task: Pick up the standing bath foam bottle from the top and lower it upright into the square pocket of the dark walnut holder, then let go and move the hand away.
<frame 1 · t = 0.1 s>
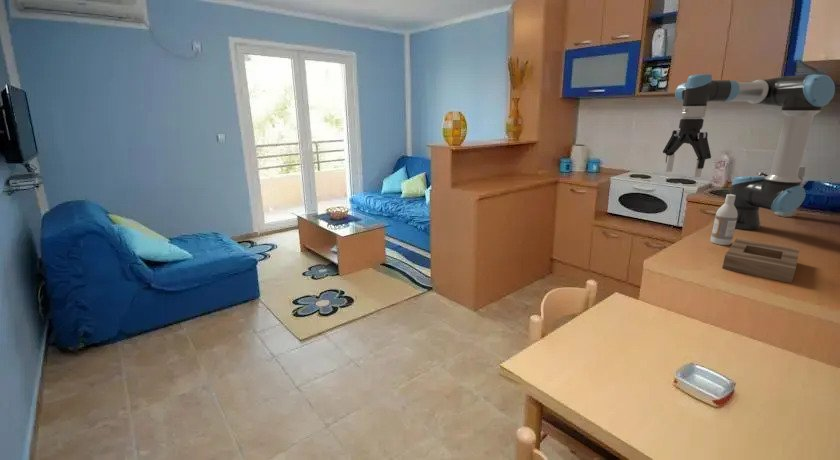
hand: (681, 174, 158), 28 cm above the table, tool pointing down, fingers open, 13 cm apart
bath foam: (720, 243, 165), on the table
walnut holder: (759, 265, 141), on the table
water bottle: (781, 215, 204), on the table
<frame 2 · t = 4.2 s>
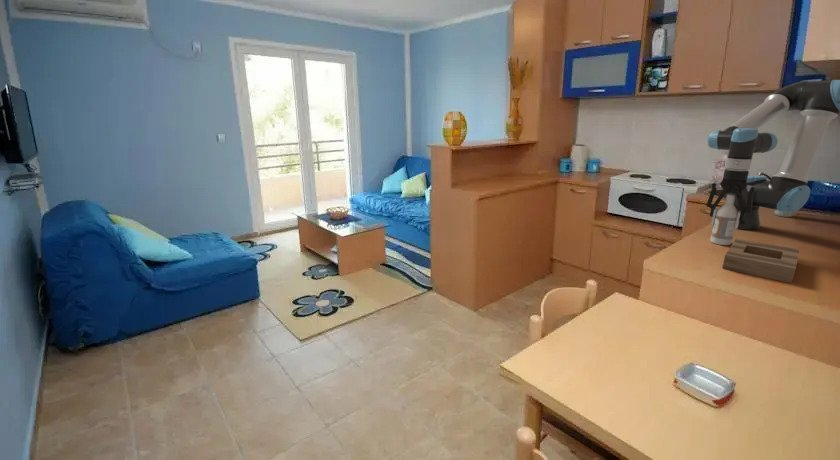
hand: (724, 226, 162), 7 cm above the table, tool pointing down, fingers closed on bath foam, 7 cm apart
bath foam: (720, 243, 165), on the table, touching gripper
everything else where it was.
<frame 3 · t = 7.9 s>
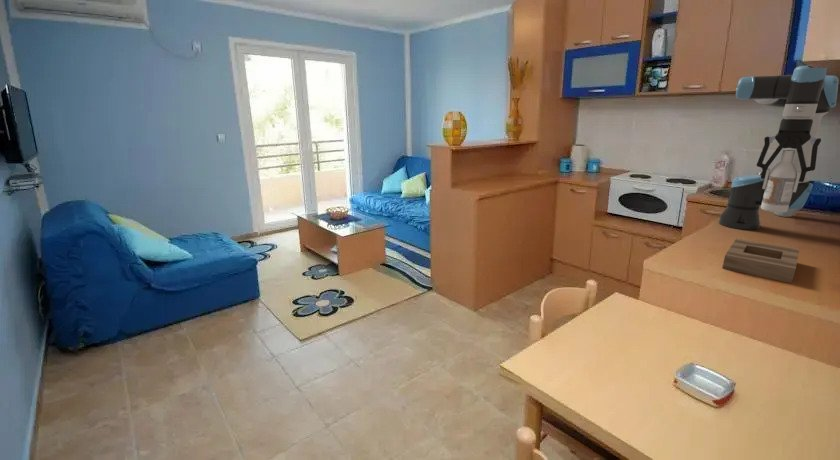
hand: (778, 189, 134), 27 cm above the table, tool pointing down, fingers closed on bath foam, 7 cm apart
bath foam: (773, 211, 136), point 20 cm above the table, touching gripper
everything else where it was.
when the fingers open (9 cm above the table, at t = 11.9 s): bath foam drops 1 cm, resting on walnut holder.
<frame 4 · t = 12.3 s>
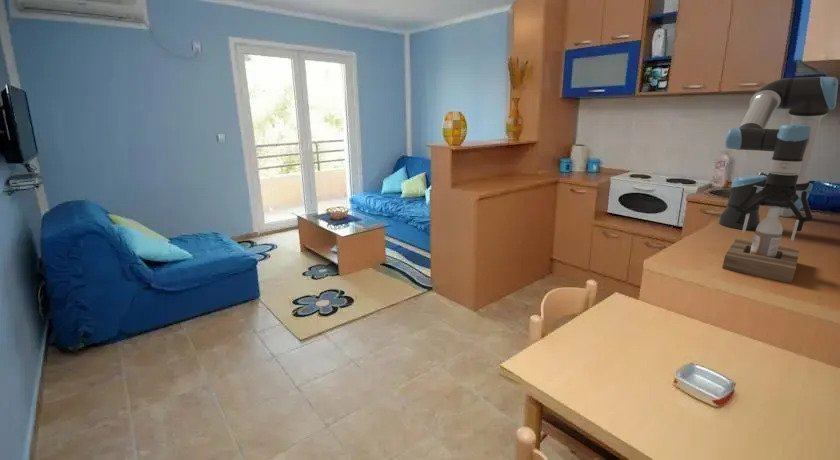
hand: (767, 235, 138), 11 cm above the table, tool pointing down, fingers open, 12 cm apart
bath foam: (760, 263, 141), point 1 cm above the table, touching walnut holder
everything else where it was.
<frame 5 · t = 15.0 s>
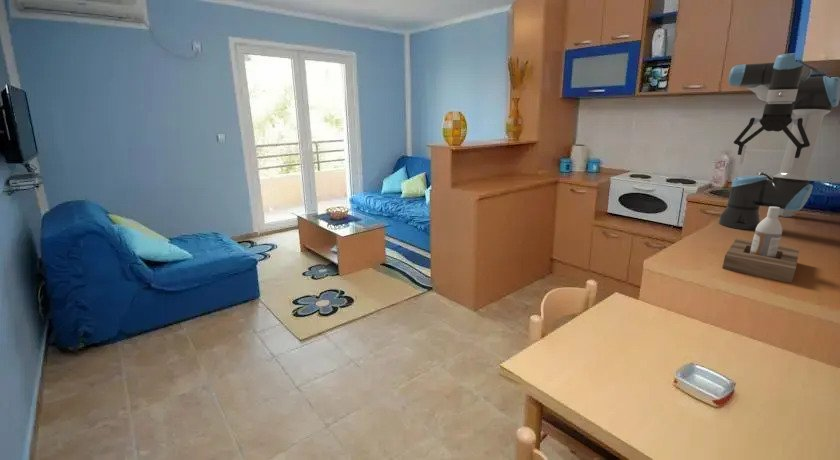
hand: (764, 165, 143), 33 cm above the table, tool pointing down, fingers open, 13 cm apart
nothing on the table moved.
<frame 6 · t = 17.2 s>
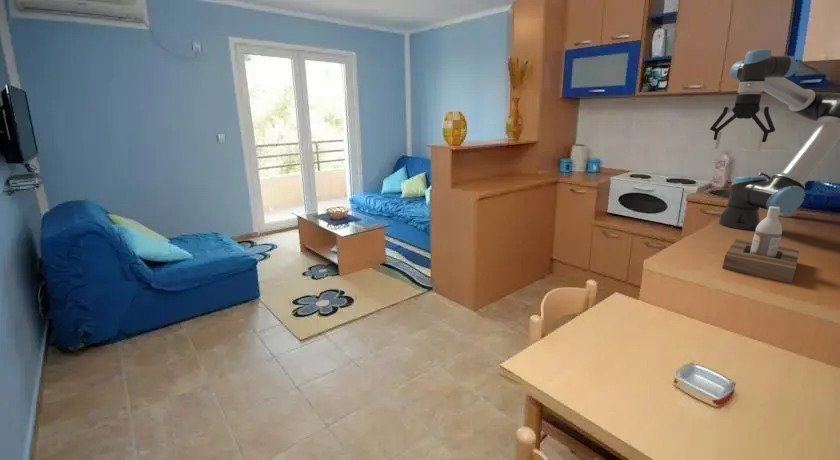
hand: (736, 149, 161), 37 cm above the table, tool pointing down, fingers open, 13 cm apart
nothing on the table moved.
at the end: bath foam 0.1 cm off-centre on the walnut holder, point 0.8 cm above the walnut holder's base; bath foam tilted 0°; the gripper is holding nothing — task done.
